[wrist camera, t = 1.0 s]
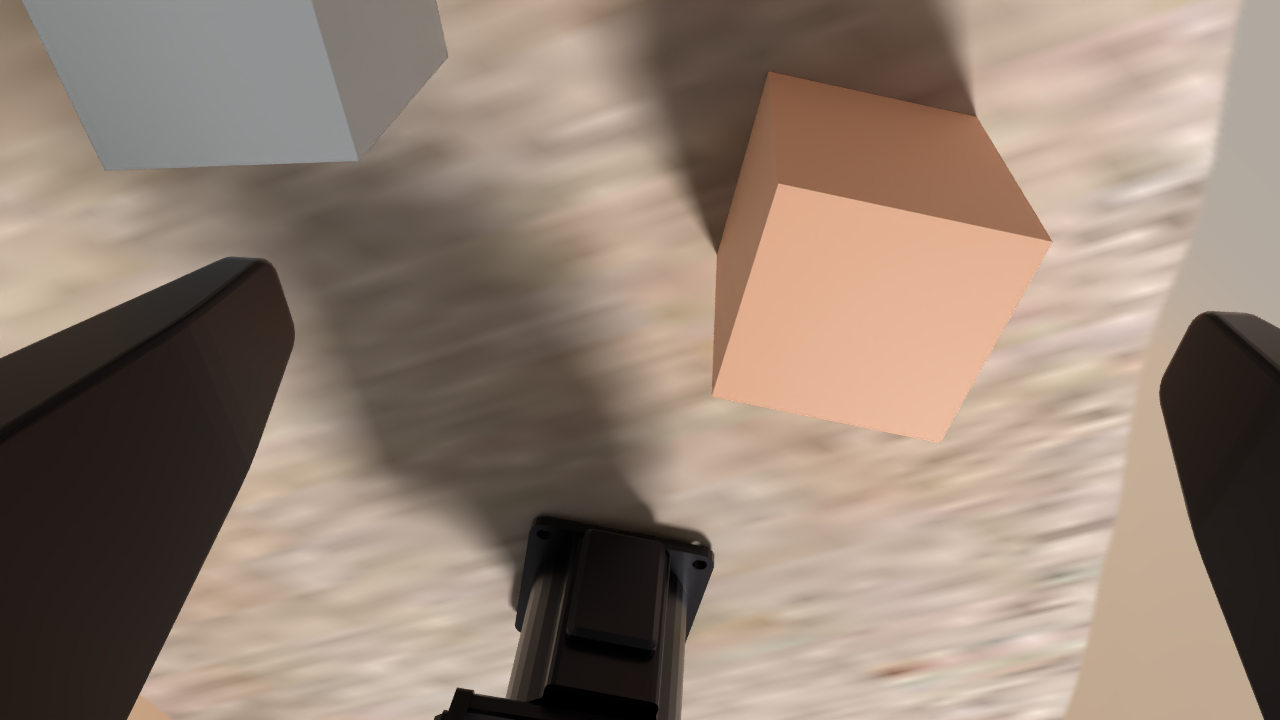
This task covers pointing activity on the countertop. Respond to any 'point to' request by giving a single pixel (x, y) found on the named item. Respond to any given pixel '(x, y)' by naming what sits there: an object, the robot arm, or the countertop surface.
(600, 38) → the countertop surface
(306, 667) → the countertop surface
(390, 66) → the grey block
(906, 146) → the terracotta block
